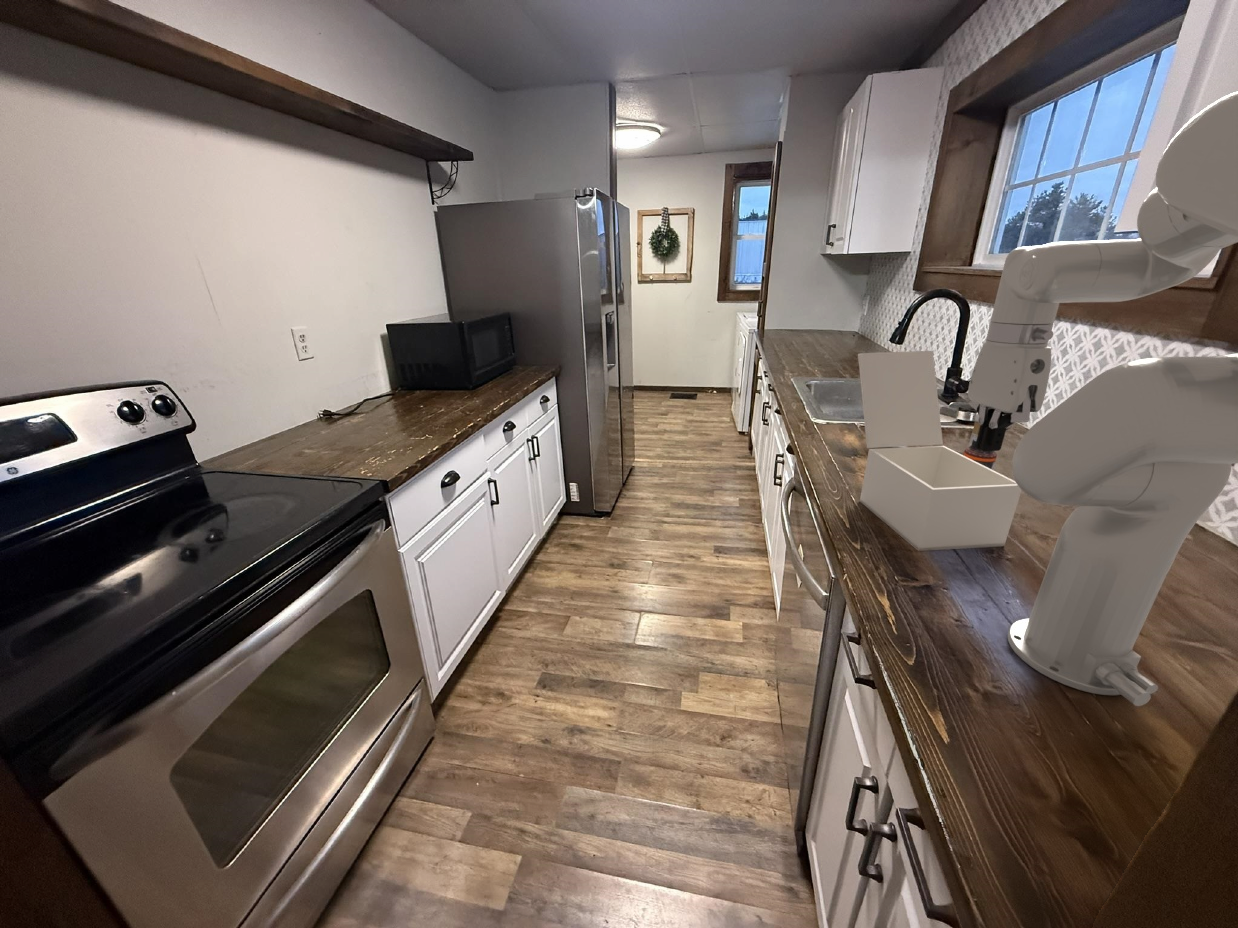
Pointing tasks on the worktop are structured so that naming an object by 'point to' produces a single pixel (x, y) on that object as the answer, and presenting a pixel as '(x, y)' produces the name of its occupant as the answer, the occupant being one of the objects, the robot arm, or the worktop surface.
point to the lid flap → (900, 399)
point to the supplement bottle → (980, 455)
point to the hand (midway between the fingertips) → (987, 449)
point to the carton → (939, 497)
